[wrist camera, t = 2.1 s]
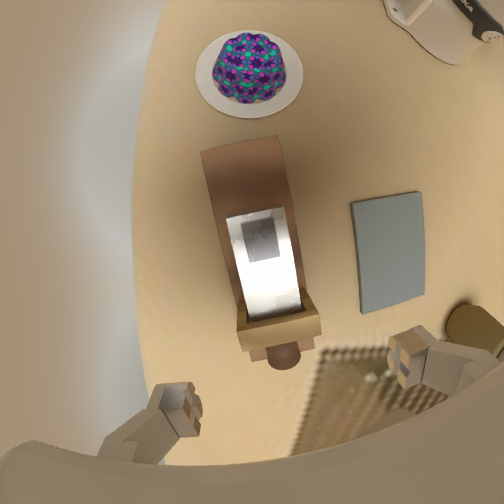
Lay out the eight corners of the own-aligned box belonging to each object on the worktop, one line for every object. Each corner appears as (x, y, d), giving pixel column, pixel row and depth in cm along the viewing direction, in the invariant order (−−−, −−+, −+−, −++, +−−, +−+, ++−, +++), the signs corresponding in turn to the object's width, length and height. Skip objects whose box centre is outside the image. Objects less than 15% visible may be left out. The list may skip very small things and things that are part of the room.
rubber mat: (350, 203, 29) (352, 203, 28) (417, 191, 29) (421, 191, 28) (360, 311, 33) (362, 314, 32) (421, 292, 32) (424, 294, 32)
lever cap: (228, 213, 24) (225, 220, 19) (277, 202, 24) (285, 207, 19) (252, 313, 27) (254, 338, 22) (295, 303, 26) (305, 327, 22)
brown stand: (207, 157, 27) (187, 142, 17) (271, 143, 27) (287, 121, 17) (250, 338, 33) (253, 397, 23) (305, 326, 33) (327, 381, 22)
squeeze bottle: (468, 332, 35) (528, 384, 18) (437, 347, 35) (498, 410, 18) (475, 292, 33) (547, 338, 16) (444, 305, 33) (520, 364, 16)
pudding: (188, 116, 27) (178, 103, 21) (205, 30, 24) (199, 8, 19) (297, 127, 27) (308, 116, 22) (305, 40, 24) (315, 19, 19)
